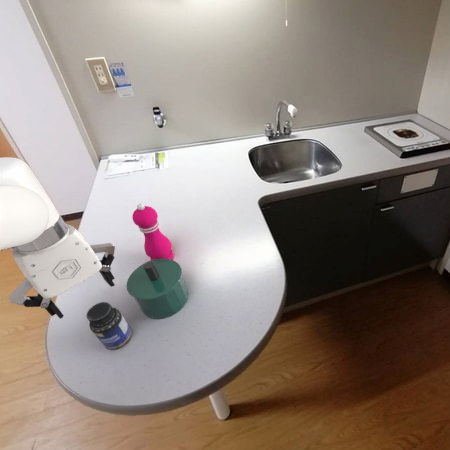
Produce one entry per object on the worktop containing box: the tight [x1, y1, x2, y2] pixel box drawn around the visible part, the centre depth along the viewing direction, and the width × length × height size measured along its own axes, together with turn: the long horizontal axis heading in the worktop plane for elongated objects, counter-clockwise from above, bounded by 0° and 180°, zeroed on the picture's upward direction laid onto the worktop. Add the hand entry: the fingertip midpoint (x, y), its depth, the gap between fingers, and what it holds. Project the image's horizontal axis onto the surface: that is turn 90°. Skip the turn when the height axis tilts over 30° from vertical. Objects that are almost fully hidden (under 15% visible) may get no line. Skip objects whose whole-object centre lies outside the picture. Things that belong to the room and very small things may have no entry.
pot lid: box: [126, 259, 183, 300], centre depth 73 cm, size 13×13×6 cm
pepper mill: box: [131, 203, 175, 261], centre depth 85 cm, size 7×7×20 cm
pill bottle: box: [86, 301, 133, 351], centre depth 68 cm, size 6×6×11 cm
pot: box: [133, 276, 189, 320], centre depth 77 cm, size 12×12×8 cm
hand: (86, 297), depth 61 cm, fingers open, 9 cm apart
